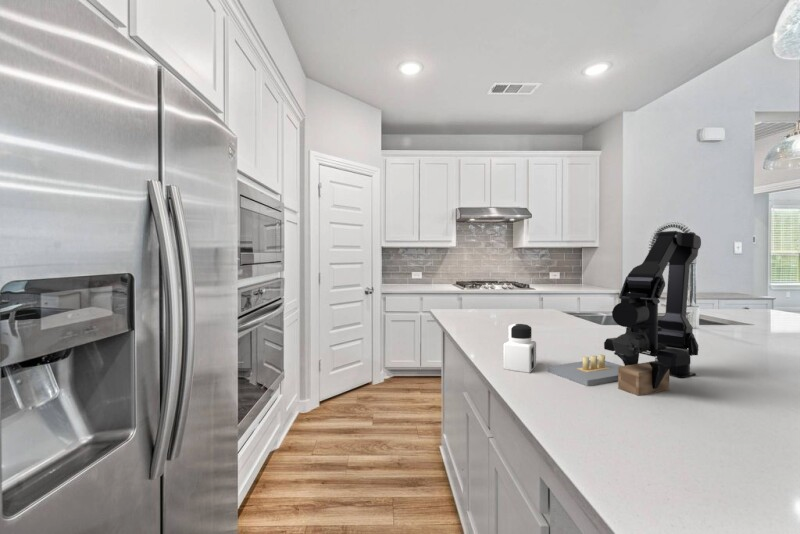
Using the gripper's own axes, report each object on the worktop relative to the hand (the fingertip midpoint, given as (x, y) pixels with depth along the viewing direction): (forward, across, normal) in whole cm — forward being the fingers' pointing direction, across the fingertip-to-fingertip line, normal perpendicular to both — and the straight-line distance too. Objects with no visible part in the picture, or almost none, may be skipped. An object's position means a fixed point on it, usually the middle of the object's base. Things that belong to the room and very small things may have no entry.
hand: (643, 384), depth 97 cm
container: (+1, -27, -16) cm, 31 cm away
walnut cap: (+1, 0, 0) cm, 1 cm away
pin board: (+1, -14, -1) cm, 14 cm away
